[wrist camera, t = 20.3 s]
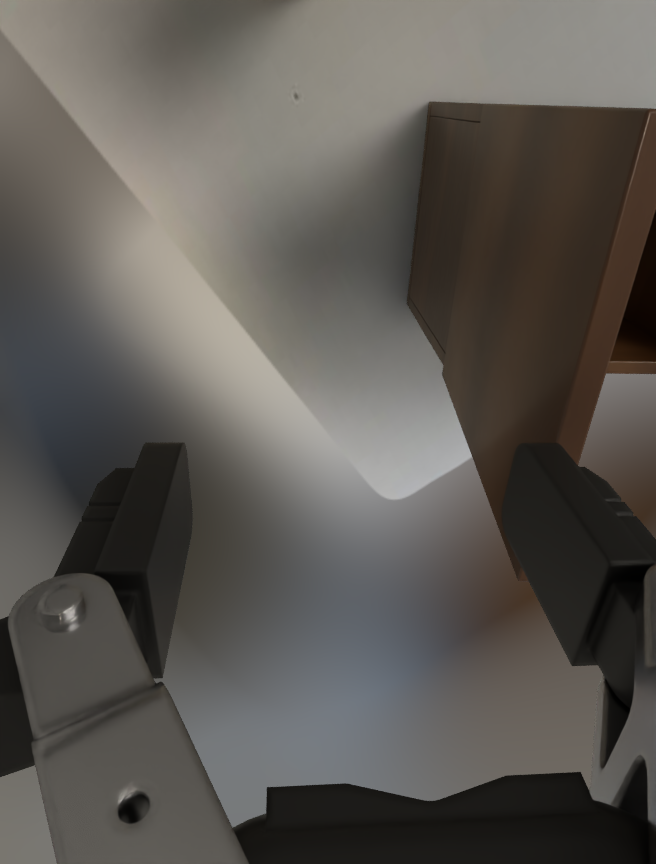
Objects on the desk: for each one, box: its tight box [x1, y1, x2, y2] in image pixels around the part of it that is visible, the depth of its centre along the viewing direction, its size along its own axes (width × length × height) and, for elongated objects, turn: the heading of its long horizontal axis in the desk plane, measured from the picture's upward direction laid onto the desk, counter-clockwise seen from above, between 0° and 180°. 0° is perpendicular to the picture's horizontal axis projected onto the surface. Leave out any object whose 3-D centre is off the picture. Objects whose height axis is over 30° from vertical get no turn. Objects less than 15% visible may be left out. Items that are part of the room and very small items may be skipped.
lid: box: [442, 104, 656, 582], centre depth 23 cm, size 16×14×1 cm
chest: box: [407, 102, 656, 374], centre depth 37 cm, size 16×14×13 cm
